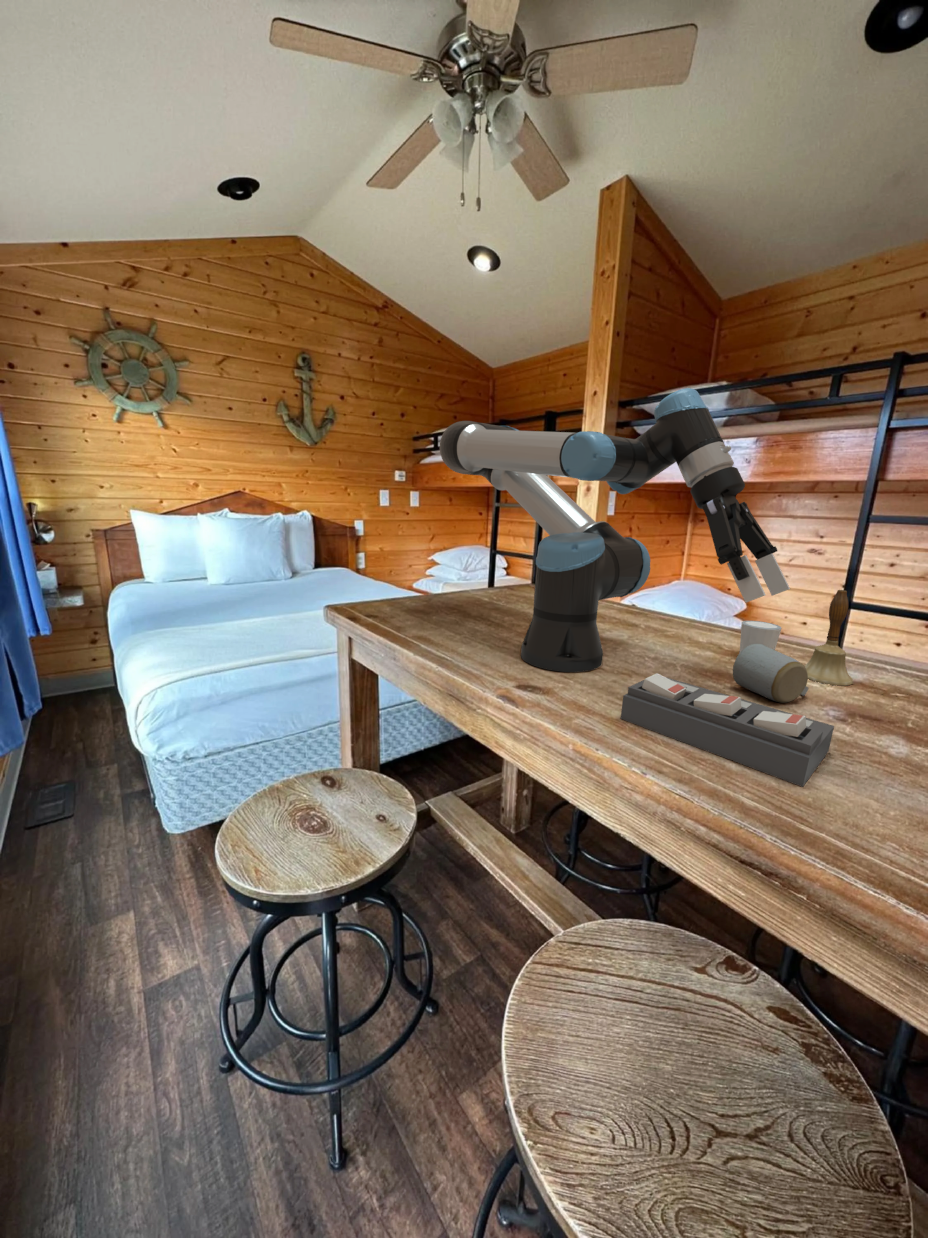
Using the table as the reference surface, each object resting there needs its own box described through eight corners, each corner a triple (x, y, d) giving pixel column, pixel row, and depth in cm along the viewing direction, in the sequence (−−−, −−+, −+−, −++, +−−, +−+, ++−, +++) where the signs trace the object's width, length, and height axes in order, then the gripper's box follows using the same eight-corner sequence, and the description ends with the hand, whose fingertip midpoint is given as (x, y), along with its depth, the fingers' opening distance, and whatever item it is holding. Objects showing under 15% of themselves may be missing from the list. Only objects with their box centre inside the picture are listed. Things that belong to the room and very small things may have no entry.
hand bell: (834, 688, 84) (855, 596, 80) (786, 672, 92) (804, 587, 88) (863, 682, 88) (885, 593, 84) (815, 667, 95) (833, 585, 91)
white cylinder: (728, 652, 102) (734, 619, 101) (759, 652, 103) (765, 620, 101) (750, 664, 96) (757, 628, 94) (783, 663, 96) (790, 629, 95)
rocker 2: (754, 730, 59) (753, 718, 59) (763, 722, 61) (763, 710, 61) (797, 736, 56) (797, 723, 55) (806, 727, 58) (805, 714, 58)
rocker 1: (641, 687, 69) (645, 678, 68) (654, 681, 71) (657, 672, 70) (671, 703, 66) (675, 694, 65) (683, 696, 68) (686, 687, 68)
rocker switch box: (620, 718, 70) (624, 688, 69) (659, 697, 78) (663, 669, 77) (802, 787, 54) (811, 748, 53) (828, 751, 62) (836, 717, 61)
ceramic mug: (771, 708, 75) (781, 659, 73) (727, 688, 83) (736, 643, 81) (821, 702, 79) (832, 656, 77) (775, 683, 86) (784, 640, 84)
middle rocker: (694, 711, 64) (693, 699, 64) (705, 703, 66) (704, 692, 66) (731, 715, 60) (730, 703, 60) (741, 708, 63) (740, 696, 63)
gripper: (704, 455, 71) (771, 591, 67) (758, 471, 88) (813, 581, 84) (657, 484, 76) (716, 612, 72) (717, 494, 93) (767, 598, 89)
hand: (769, 595), depth 78 cm, fingers open, 13 cm apart
